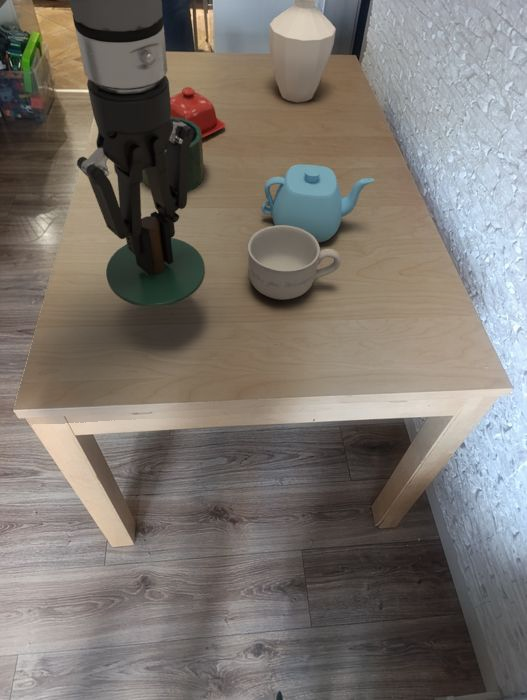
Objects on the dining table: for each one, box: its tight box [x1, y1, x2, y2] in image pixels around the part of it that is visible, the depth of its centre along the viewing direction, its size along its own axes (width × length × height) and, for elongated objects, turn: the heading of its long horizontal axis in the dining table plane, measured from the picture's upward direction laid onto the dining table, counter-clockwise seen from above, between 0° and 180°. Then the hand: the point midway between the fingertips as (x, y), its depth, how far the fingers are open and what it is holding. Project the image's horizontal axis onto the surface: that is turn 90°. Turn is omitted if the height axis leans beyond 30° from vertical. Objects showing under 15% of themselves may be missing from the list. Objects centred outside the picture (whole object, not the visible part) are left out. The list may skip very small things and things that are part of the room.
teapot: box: [261, 164, 375, 243], centre depth 85 cm, size 13×11×18 cm
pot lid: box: [105, 215, 206, 308], centre depth 64 cm, size 13×13×9 cm
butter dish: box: [170, 86, 226, 139], centre depth 103 cm, size 12×12×8 cm
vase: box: [268, 0, 337, 104], centre depth 109 cm, size 14×14×25 cm
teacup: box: [247, 225, 342, 300], centre depth 77 cm, size 14×11×8 cm
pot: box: [142, 117, 205, 192], centre depth 93 cm, size 12×17×8 cm
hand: (155, 262), depth 65 cm, fingers closed on pot lid, 2 cm apart
